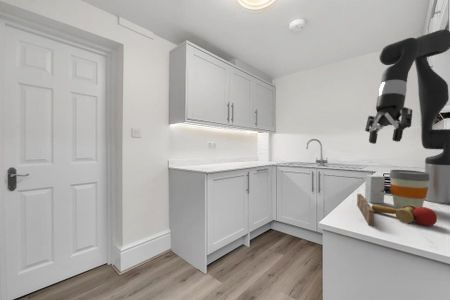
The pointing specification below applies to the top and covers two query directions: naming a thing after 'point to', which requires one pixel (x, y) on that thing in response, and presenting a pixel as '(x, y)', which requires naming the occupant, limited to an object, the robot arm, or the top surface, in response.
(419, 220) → the kendama
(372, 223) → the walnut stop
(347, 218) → the top surface
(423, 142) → the robot arm
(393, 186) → the reusable coffee cup
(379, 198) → the skincare box
